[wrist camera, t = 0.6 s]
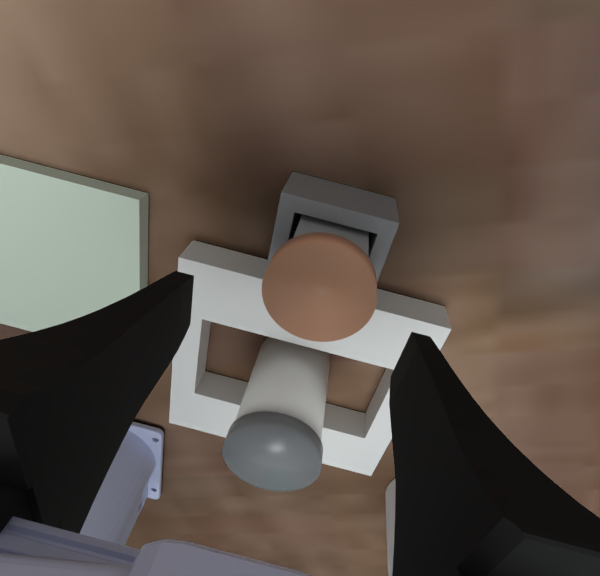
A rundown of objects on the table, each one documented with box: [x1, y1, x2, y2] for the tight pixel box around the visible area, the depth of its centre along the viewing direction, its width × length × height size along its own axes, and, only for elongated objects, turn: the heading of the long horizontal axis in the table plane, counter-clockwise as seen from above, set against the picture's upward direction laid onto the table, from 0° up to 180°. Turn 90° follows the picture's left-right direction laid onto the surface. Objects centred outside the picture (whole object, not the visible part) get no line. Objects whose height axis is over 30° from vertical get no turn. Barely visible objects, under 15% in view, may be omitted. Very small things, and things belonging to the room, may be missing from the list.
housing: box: [169, 171, 451, 476], centre depth 23 cm, size 18×14×3 cm
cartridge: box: [222, 337, 330, 491], centre depth 22 cm, size 5×5×7 cm
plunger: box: [262, 214, 377, 342], centre depth 17 cm, size 4×4×4 cm
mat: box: [0, 154, 149, 332], centre depth 23 cm, size 11×11×1 cm
